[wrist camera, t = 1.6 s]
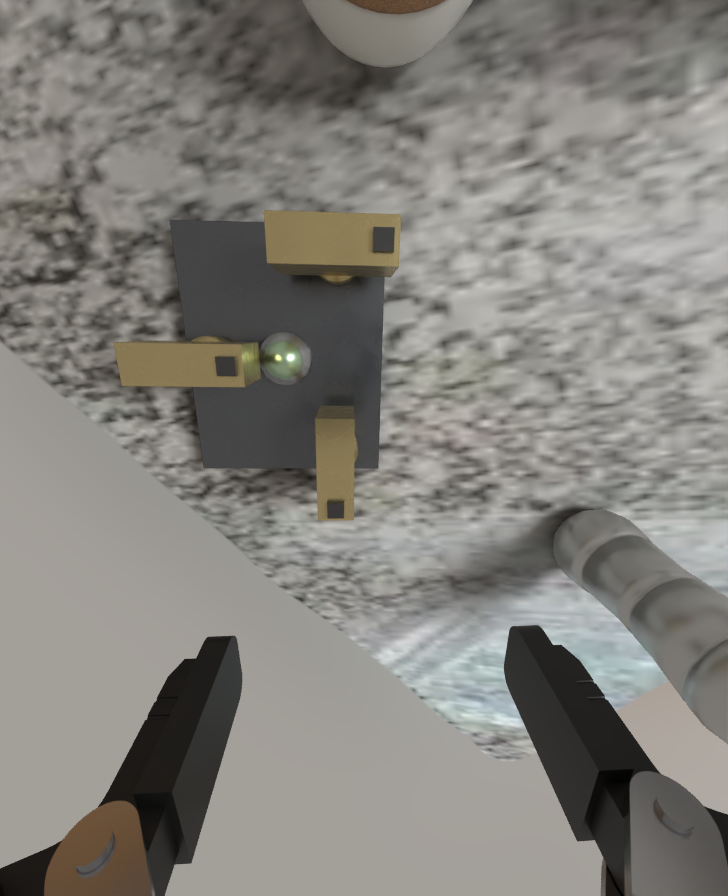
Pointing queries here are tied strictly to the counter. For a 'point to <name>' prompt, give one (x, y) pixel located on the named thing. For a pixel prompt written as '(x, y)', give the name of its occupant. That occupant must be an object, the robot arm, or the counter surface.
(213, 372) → the bar with square hole
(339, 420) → the knob
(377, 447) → the levelling plate
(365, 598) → the counter surface
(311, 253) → the knob
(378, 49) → the lidded jar
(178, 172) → the counter surface
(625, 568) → the plastic bottle
